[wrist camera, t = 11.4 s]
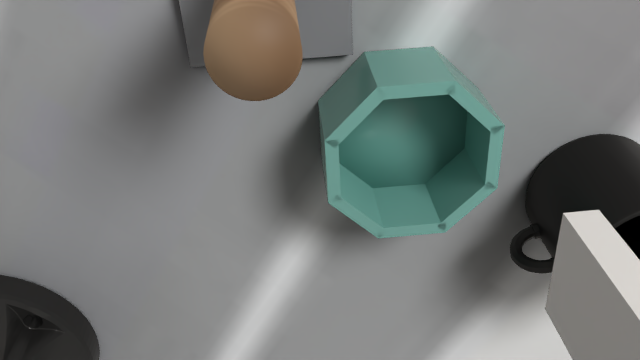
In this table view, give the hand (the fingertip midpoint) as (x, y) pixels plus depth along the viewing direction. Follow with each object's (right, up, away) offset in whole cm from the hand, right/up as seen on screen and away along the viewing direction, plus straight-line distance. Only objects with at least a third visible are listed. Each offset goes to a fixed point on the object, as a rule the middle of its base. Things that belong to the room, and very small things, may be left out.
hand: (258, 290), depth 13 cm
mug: (+20, +2, +33) cm, 38 cm away
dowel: (-2, +14, +22) cm, 26 cm away
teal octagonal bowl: (+7, +6, +28) cm, 30 cm away
